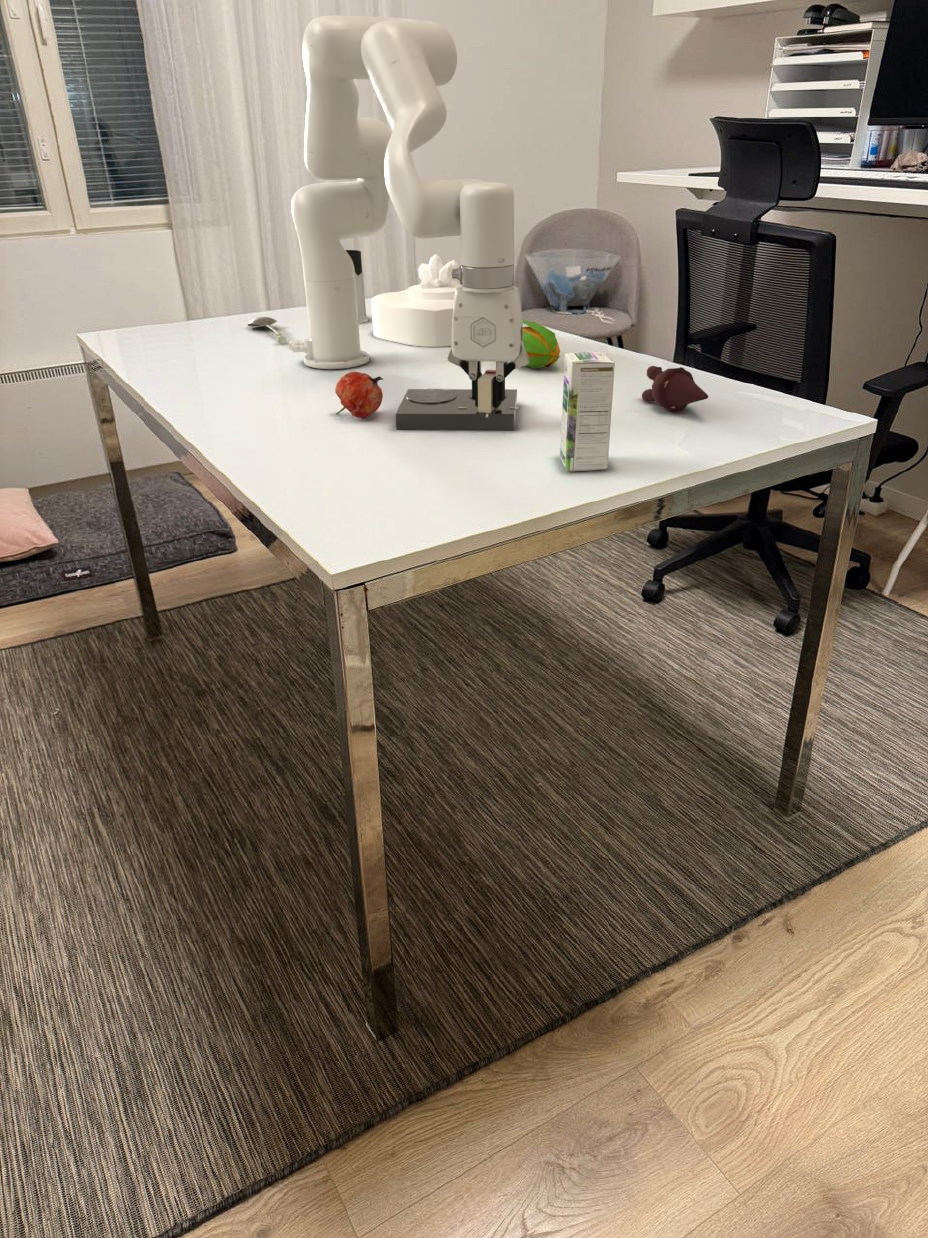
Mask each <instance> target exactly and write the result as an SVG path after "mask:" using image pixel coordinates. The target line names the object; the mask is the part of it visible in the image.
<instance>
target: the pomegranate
mask: <svg viewBox="0 0 928 1238" xmlns="http://www.w3.org/2000/svg"><path fill="white" fill-rule="evenodd" d="M383 380H384V378H383V377H382V376H379V375H378V376H377V377H372V375H369V373H365V372H360V371H349V372H348V373H346V374H344V375H343V376H341V377H340V378H339V380H338V381H337V383H336V385H335V389H334V393H335V395H336V396H337V397H338V398H339V401H340V405H341V406H342V408H341V409H340V410H339V411H337V412H336V414H335V415H336V416H337V415H339V414H340V413H341V412H343V411H345V410H347V411H348V412H349V413H350V414H351V415H352V416H353V417H354V418H356V419H366V418H368V417H370V416H371V415H373V414H374V413H375V412H376V411H377V410H379V408H380V407H381V405H382V402H383V397H384V393H383V390H382V388H381V387H380V386H379V384H378V383H379V381H383Z"/></svg>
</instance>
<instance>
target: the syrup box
mask: <svg viewBox="0 0 928 1238" xmlns="http://www.w3.org/2000/svg"><path fill="white" fill-rule="evenodd" d="M615 366H616V364H615V361H613V360H612V358H611V357H610V356H609V355H608V354H607V353H606V352H599V351H575V352H569V353H565V354H564V367H563V368H564V369H563V370H564V371H563V387H562V388H563V390H562V401H561V402H562V404H561V405H562V406H561V423H560V448H559V449H560V450H559V458H560V461H561V463H562V465H563V467H564V469H565V470H566V472H584V471H586V472H587V471H600V470H608V465H609V452H610V439H611V424H612V409H613V398H614V396H613V395H614V385H615V384H614V381H615Z"/></svg>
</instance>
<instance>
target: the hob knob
mask: <svg viewBox="0 0 928 1238" xmlns="http://www.w3.org/2000/svg"><path fill="white" fill-rule="evenodd" d="M495 376H496V369H485V372H484V373H482V376H481V377H480V378H479V379H478V412H480V413H491V412H492V411H493V410H494V409H495V408H494V407H493V381H494V380H495Z"/></svg>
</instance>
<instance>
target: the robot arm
mask: <svg viewBox="0 0 928 1238" xmlns="http://www.w3.org/2000/svg"><path fill="white" fill-rule="evenodd" d="M301 51H302V52H301V53H302V62H303V69H304V73H305V78H306V86H307V87H306V88H307V92H306V93H307V97H306V110H305V125H304V142H303V143H304V144H303V145H304V147H303V150H304V151H303V157H304V164H305V168H306V170H307V172H308V173H309V175H311V176H312V177H314V178H316V179H318V180H322V181H323V180H324V181H327V182H316V183H315V182H314V183H310V184H306V185H304V186H302V187H300V188H299V189H297V190H296V192H295V193H294V194H293V196H292V199H291V205H290V206H291V207H290V208H291V216H292V221H293V225H294V228H295V232H296V236H297V239H298V244H299V250H300V256H301V265H302V274H303V284H304V293H305V302H306V313H307V322H308V334H309V337H308V338H305V340H289V341H288V348H289V351H290V352H292V353H304V354H306V355H305V356H304V357H303V364H304V365H305V366H307V367H309V368H313V369H318V370H319V369H321V370H341V369H342V370H343V369H351V368H356V367H360V366H362V365H365V364H367V363H368V362H369V361H370V355H369V354H370V353H368V352H366V351H365V350H362V349H361V338H360V325H359V324H360V323H359V322H358V309H357V295H356V282H355V270H354V265H353V262H352V259H351V257H350V256H349V254H348V253H347V252H346V250H347V249H345V247H344V246H343V245H342V243H341V241H342V240H346V239H357V238H365V237H371V236H372V237H373V236H376V235H377V234H379V233H380V232H381V231H382V230H383V229H384V227H385V224H386V221H387V216H388V212H389V211H388V210H389V203H390V201H391V203H392V206H393V208H394V211H395V213H396V214H397V217H398V219H399V221H400V223H401V225H402V227H403V228H404V229H405V231H406V232H407V233H409V235H411V236H412V237H414V238H417V239H422V240H424V239H425V240H426V239H435V238H444V237H445V238H446V237H457V236H460V265H459V267H457V268H456V269H452V278H451V279H452V280H455V279H456V280H457V281H459V282H460V283H459V284H460V285H462V286H461V287H459V288H457V289H456V292H455V298H454V306H453V318H452V340H451V345H452V346H451V348H450V351H449V353H448V356H447V362H449V363H451V364H454V365H455V366H457V367H460V368H461V369H462V370H463V372H464V373H465V374H466V375H467V376H468V378H469V380H470V381H471V389H472V399H473V400H475V406H476V407H478V379H479V378H480V377H481V376H482V375H483V373H482V362H492V363H493V362H495V370H496V376H495V380H494V381H493V407H494V408H498V407H499V406H500V404H501V403H502V401H504V400H505V389H506V378H507V377H508V376H509V375H510V374H511V373H512V372H513V371H515V370H518V369H520V368H523V367H526V366H525V365H527V364H528V363H529V357H528V354H527V352H526V349H525V347H524V344H523V327H524V323H523V321H524V320H523V314H522V303H521V296H520V291H519V287H518V286H515V285H514V284H515V194H514V190H513V187H512V186H511V185H510V184H508V183H505V182H499V181H497V182H496V181H495V182H494V181H485V180H483V179H481V178H475V177H465V178H446V179H428V180H422V179H421V178H420V176H419V174H418V172H417V170H416V168H415V165H414V163H413V160H412V157H411V153H412V152H414V151H415V150H417V149H418V148H420V147H422V146H423V145H425V144H426V143H429V142H430V141H431V140H432V139H434V138H435V137H436V136H437V134H439V133H440V131H441V130H442V128H443V127H444V125H445V123H446V121H447V116H448V115H447V113H448V111H447V106H446V104H445V102H444V99H443V98H442V95H441V93H440V90H439V88H438V87H441V86H445V85H447V84H449V82H450V81H451V80H452V79H453V78H454V76H455V73H456V70H457V64H458V52H457V47H456V44H455V41H454V38H453V36H452V34H451V32H450V31H449V30H448V29H447V27H445V25H443V24H442V23H440V22H438V21H435V20H421V19H414V18H407V17H406V18H405V17H395V16H394V17H393V16H368V15H352V14H351V15H350V14H347V15H346V14H332V15H330V14H329V15H321V16H317V17H315V18H313V19H312V20H311V21H309V23H308V24H307V26H306V28H305V30H304V32H303V36H302V43H301ZM355 80H369V81H370V82H371V85H372V87H373V90H374V92H375V94H376V96H377V99H378V101H379V103H380V106H381V108H382V110H383V113H384V114H385V117H386V120H387V122H388V124H389V126H390V129H391V131H390V129H389V127H388V126H387V124H385V123H384V122H383V120H380V119H378V118H374V117H358V113H359V105H360V95H359V91H358V87H357V84H356V82H355ZM391 132H392V133H391ZM343 180H349V181H343ZM350 180H351V181H350ZM329 181H330V182H329ZM522 320H523V321H522ZM516 358H517V359H516Z"/></svg>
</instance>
